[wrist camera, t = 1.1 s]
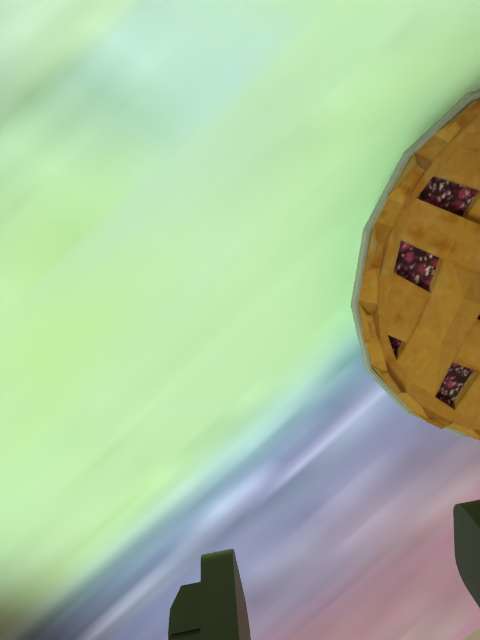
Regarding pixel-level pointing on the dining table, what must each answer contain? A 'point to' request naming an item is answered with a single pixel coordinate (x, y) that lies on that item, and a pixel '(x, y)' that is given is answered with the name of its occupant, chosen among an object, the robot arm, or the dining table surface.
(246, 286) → the dining table surface
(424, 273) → the pie
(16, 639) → the dining table surface
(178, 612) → the robot arm
